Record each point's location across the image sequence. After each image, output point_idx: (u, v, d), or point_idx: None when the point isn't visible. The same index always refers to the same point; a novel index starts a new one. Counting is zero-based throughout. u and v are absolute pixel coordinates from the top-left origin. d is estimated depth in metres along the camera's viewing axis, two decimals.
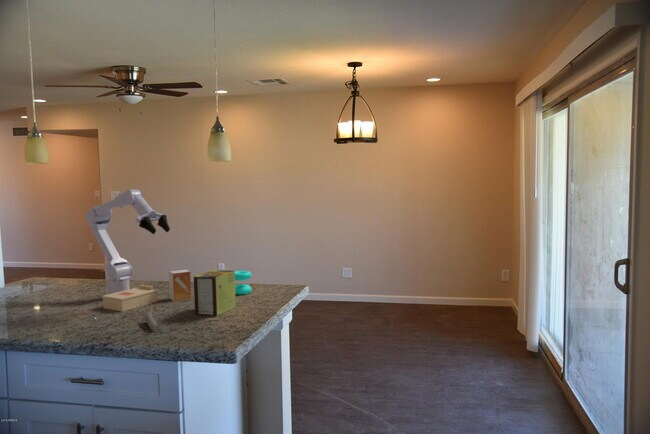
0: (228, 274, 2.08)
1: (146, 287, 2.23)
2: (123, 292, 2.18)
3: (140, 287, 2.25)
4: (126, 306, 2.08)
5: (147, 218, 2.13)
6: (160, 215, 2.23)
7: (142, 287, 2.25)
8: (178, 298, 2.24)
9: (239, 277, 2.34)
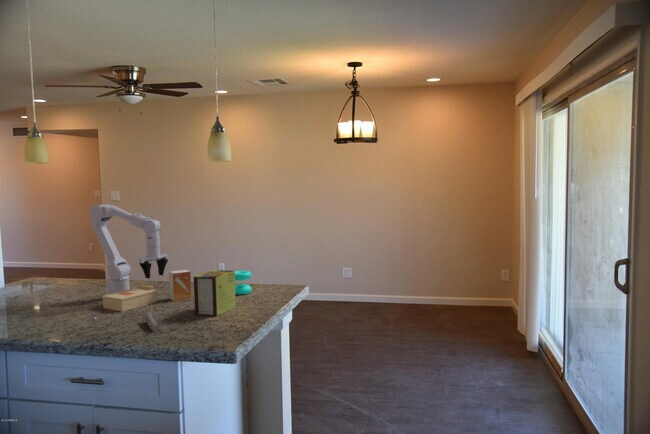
0: (228, 274, 2.08)
1: (146, 287, 2.23)
2: (123, 292, 2.18)
3: (140, 287, 2.25)
4: (126, 306, 2.08)
5: (149, 265, 2.23)
6: (163, 256, 2.31)
7: (142, 287, 2.25)
8: (178, 298, 2.24)
9: (239, 277, 2.34)
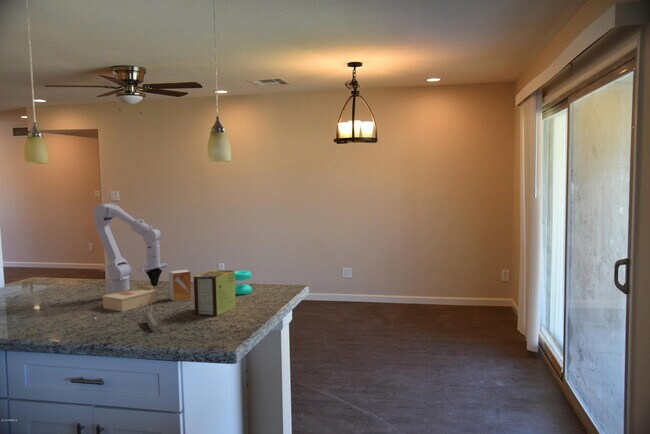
0: (228, 274, 2.08)
1: (146, 287, 2.23)
2: (123, 292, 2.18)
3: (140, 287, 2.25)
4: (126, 306, 2.08)
5: (155, 273, 2.26)
6: (163, 265, 2.32)
7: (142, 287, 2.25)
8: (178, 298, 2.24)
9: (239, 277, 2.34)
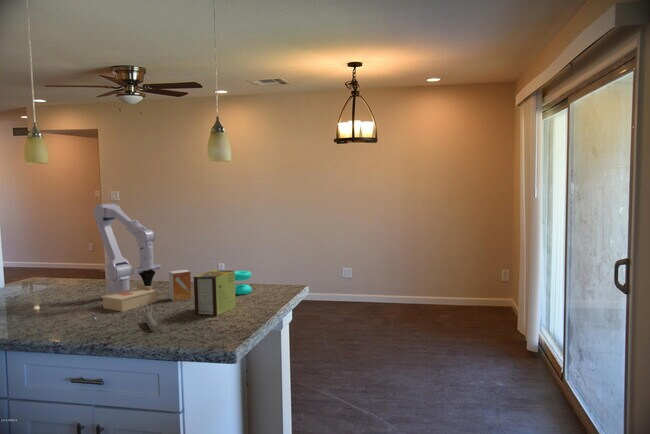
0: (228, 274, 2.08)
1: (145, 287, 2.23)
2: (122, 292, 2.17)
3: (139, 287, 2.25)
4: (126, 306, 2.08)
5: (148, 274, 2.23)
6: (157, 267, 2.28)
7: (141, 287, 2.24)
8: (178, 298, 2.24)
9: (239, 277, 2.34)
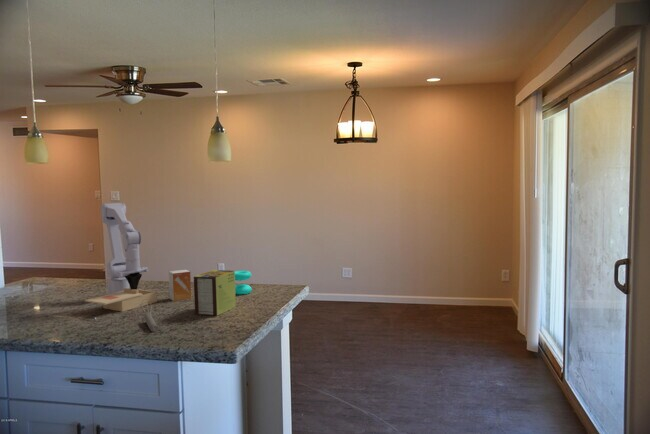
0: (228, 274, 2.08)
1: (131, 291, 2.16)
2: (107, 296, 2.11)
3: (125, 291, 2.18)
4: (126, 306, 2.08)
5: (135, 277, 2.16)
6: (143, 269, 2.22)
7: (127, 291, 2.18)
8: (178, 298, 2.24)
9: (239, 277, 2.34)
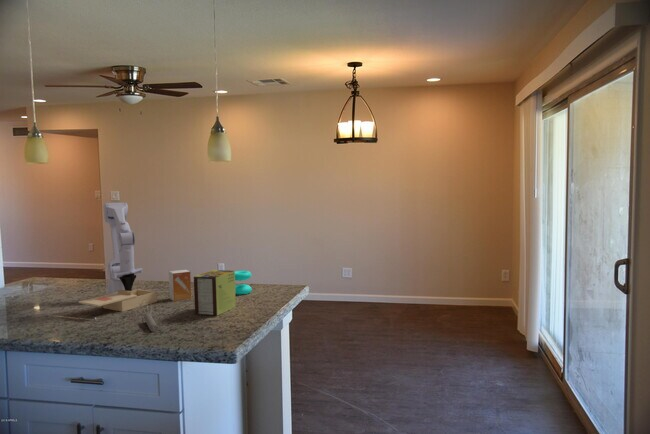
0: (228, 274, 2.08)
1: (126, 292, 2.14)
2: (101, 297, 2.08)
3: (119, 292, 2.16)
4: (126, 306, 2.08)
5: (129, 279, 2.14)
6: (138, 271, 2.19)
7: (121, 292, 2.15)
8: (178, 298, 2.24)
9: (239, 277, 2.34)
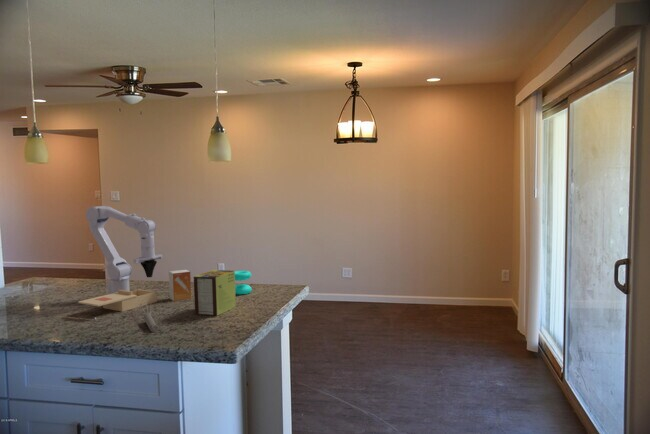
0: (228, 274, 2.08)
1: (125, 292, 2.14)
2: (101, 297, 2.08)
3: (119, 292, 2.16)
4: (126, 306, 2.08)
5: (150, 264, 2.25)
6: (158, 257, 2.31)
7: (121, 292, 2.15)
8: (178, 298, 2.24)
9: (239, 277, 2.34)
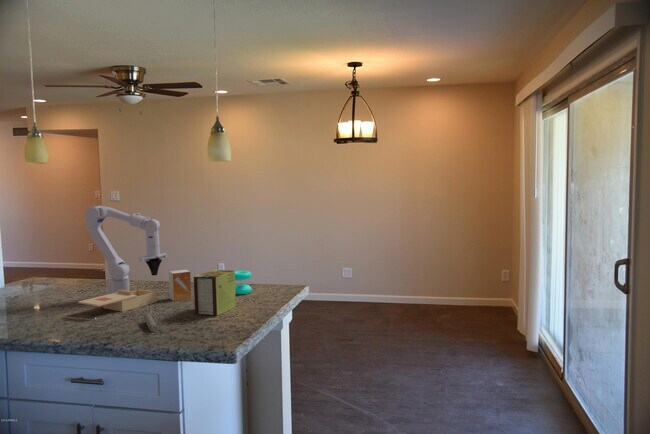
0: (228, 274, 2.08)
1: (125, 292, 2.14)
2: (101, 297, 2.08)
3: (119, 292, 2.16)
4: (126, 306, 2.08)
5: (155, 262, 2.29)
6: (163, 255, 2.35)
7: (121, 292, 2.15)
8: (178, 298, 2.24)
9: (239, 277, 2.34)
